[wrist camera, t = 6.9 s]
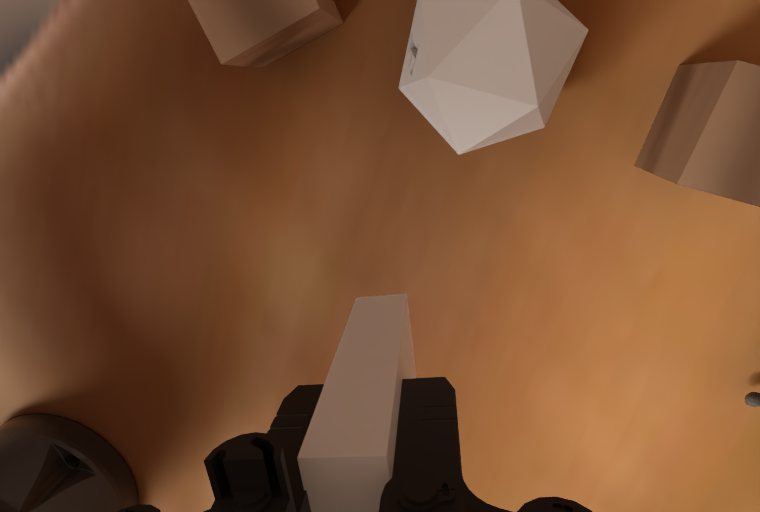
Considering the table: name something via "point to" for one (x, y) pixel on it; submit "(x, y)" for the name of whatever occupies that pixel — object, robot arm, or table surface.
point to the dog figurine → (753, 399)
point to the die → (488, 66)
